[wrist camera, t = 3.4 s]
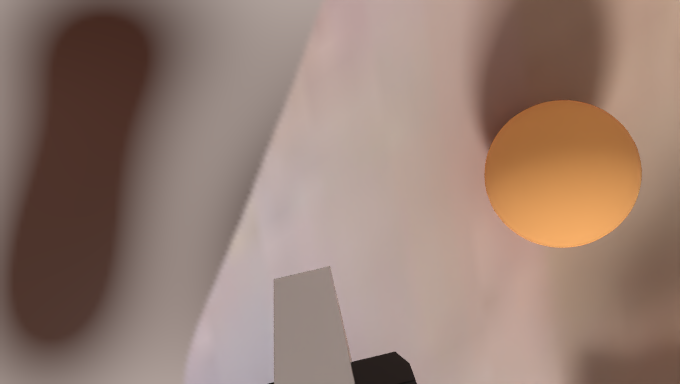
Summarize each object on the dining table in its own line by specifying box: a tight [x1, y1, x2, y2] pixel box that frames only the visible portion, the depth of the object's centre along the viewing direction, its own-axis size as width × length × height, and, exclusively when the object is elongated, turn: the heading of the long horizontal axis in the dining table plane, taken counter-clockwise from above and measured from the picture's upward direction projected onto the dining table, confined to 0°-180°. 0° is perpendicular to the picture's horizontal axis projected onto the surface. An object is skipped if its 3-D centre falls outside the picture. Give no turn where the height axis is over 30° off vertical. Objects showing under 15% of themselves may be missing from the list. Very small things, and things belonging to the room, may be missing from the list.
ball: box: [485, 100, 642, 248], centre depth 23 cm, size 6×6×6 cm
